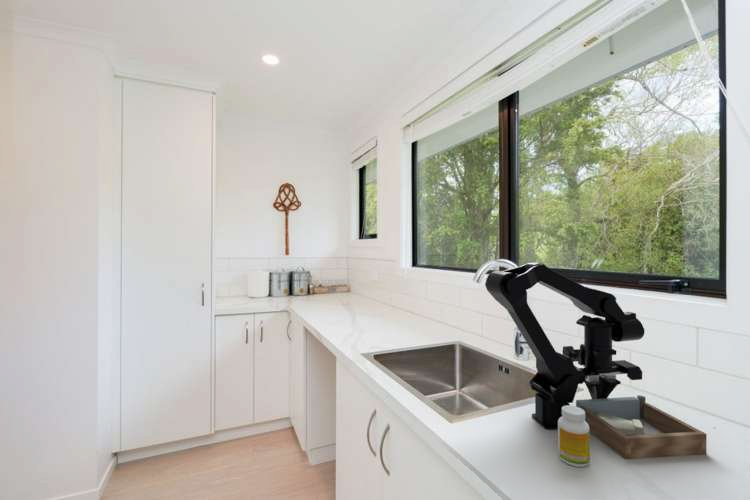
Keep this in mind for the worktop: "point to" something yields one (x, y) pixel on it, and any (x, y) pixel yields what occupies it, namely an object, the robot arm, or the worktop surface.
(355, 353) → the worktop surface
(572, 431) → the supplement bottle
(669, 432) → the rectangular wooden tray
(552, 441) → the worktop surface
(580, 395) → the worktop surface
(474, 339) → the worktop surface
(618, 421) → the pipe fitting
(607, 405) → the grey rectangular bar
